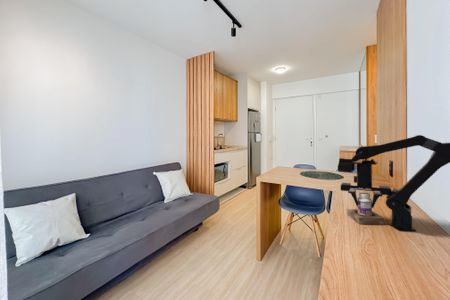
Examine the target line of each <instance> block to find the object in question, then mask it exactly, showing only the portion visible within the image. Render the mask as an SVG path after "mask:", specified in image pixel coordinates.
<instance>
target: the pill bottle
mask: <svg viewBox="0 0 450 300" xmlns="http://www.w3.org/2000/svg"><path fill="white" fill-rule="evenodd" d="M358 195H359V197H357V201H358V206H357V209H358V214H360V215H363V216H371V215H372V211H373V208H372V200H373V199H372V198H371V194H370V193H368V192H359V193H358Z"/></svg>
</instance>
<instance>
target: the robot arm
mask: <svg viewBox="0 0 450 300" xmlns="http://www.w3.org/2000/svg"><path fill="white" fill-rule="evenodd" d="M418 146H419V147H422V148H424V149H427V150H430V151H432V154H431V155H430V157H429V159H428V161H427V162H426V163H425V164H423V166H422V167H421V168H420V169H419V170H417V172H416V173H415V174H414V175H413V176H412V177H411V178H409V180H407V182H406V183H405V184H403V186H402V187H400V188H398V189H396V188H395V187H393V188H391V187H390V186H388V185H379V186H377V187H376V186H375V187H374V186H373V165H375V166H376V165H378V162H377V161H376V160H375V159H374V158H373V157H375V156H378V155H380V154H384V153H389V152H393V151H398V150H402V149H408V148H412V147H418ZM369 159H370V160H369ZM338 160H339V161H338V164H337V170H338V172H340V173H354V172H356V175H354V176H353V183H355V184H356V185H355V184H354V185H352V184H351V183H350V182H342V183H341V184H340V191H341V192H347V193H348V194H350V195H351V197H352V198H353V200H354V203H355V205H356V207H358V195H357V191H365V192H367V191H368V192H373V194H372V199H371V200H372V209H373V208H374V207H375V204H376V202H377V201H378V199H379V198H380V197H383V196H386V197H385V198H386V201H385V205H386V207H387V208H388V209H390V210H391V222H388V223H387V224H388V226H391V227H393V228H394V229H396V230H397V231H399V232H402V231H403V232H405V231H406V232H417V229H416V228H415V227H413V216H412V206H411V205H409V204H408V202H409V200H410V198H411V197H412V195H413V194H414V193H415V192H417V190H419V188H420V187H421V186H423V185H424V184H425V183H426V182H427V181H428V180H429V179H430V178H431V177H432V176H433V175H434V174H435V173H437V171H438V170H439V169H441V168H442V167H444V166H446V165H448V164H450V142H440V141H438V140H435V139H431V138H428V137H426V136H424V135H422V134H419V135H418V134H416V135H414V136H412V137H411V136H410V137H407V138H403V139H399V140H395V141H391V142H390V141H389V142H388V143H387V142H386V143H382V144H375V145H374V144H373V145H365V146H360V147H358V148H356V150H355V155H354V156H352V158H342V157H340V158H339V159H338ZM360 160H362V161H360Z"/></svg>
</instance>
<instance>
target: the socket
mask: <svg viewBox="0 0 450 300" xmlns="http://www.w3.org/2000/svg"><path fill="white" fill-rule="evenodd" d="M346 214H347V216H348V217H349V218H350V219H352V220H353V221H354V222H355V223H357V224H358V225H385V223H384V219H385V218H384V217H383V216H382V215H380V214H378V213H376V212H375V211H373V210H372V215H371V216H363V215H360V214H358V208H357V209H355V208H353V209H350V208H347V213H346Z"/></svg>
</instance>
